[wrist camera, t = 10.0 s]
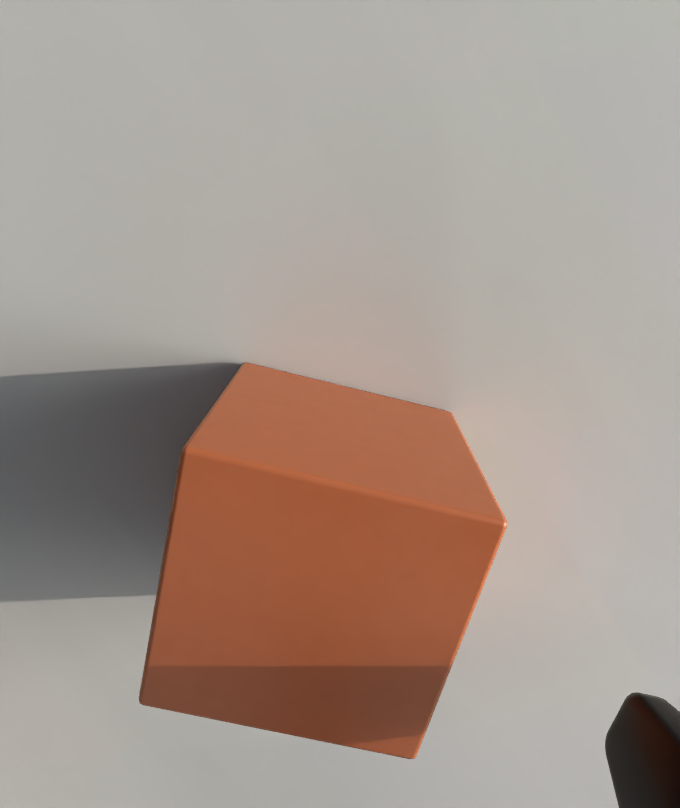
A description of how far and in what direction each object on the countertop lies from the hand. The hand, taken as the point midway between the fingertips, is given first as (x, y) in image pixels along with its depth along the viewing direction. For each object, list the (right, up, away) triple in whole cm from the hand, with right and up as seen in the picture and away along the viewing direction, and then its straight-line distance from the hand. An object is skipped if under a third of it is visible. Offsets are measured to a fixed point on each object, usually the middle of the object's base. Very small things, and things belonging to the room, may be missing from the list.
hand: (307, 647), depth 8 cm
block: (0, +2, +5) cm, 5 cm away
